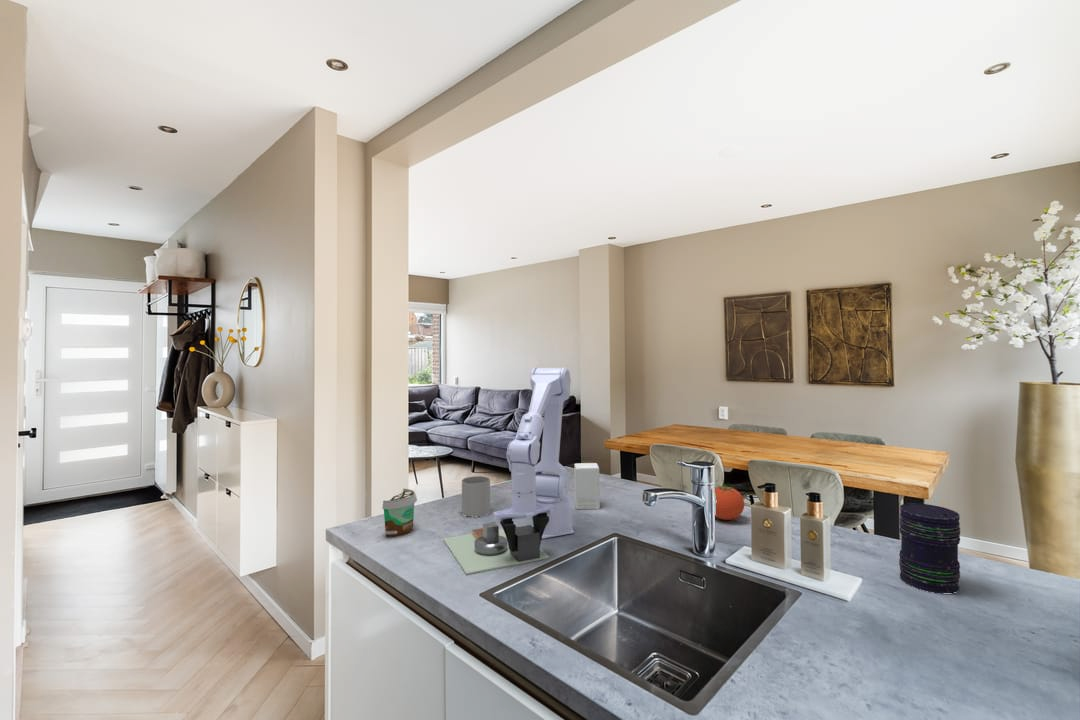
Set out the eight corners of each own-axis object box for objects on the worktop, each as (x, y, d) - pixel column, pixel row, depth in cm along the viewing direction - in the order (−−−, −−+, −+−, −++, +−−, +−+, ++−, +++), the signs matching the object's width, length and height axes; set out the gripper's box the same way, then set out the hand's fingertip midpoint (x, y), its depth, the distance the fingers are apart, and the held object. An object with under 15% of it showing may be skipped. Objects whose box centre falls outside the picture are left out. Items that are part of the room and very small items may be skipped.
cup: (475, 506, 157) (475, 474, 156) (495, 511, 152) (495, 478, 152) (456, 514, 150) (455, 481, 150) (476, 519, 145) (476, 485, 145)
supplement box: (600, 509, 152) (599, 468, 152) (575, 509, 152) (575, 468, 152) (597, 501, 160) (597, 462, 159) (574, 502, 160) (573, 462, 159)
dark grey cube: (530, 549, 122) (530, 524, 122) (539, 557, 117) (539, 532, 117) (510, 553, 120) (509, 528, 120) (518, 562, 115) (517, 536, 115)
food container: (404, 540, 130) (403, 502, 129) (383, 539, 131) (382, 501, 131) (424, 524, 142) (424, 488, 142) (404, 522, 143) (404, 488, 143)
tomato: (750, 525, 137) (750, 489, 137) (712, 525, 137) (712, 489, 137) (736, 512, 147) (736, 479, 147) (701, 513, 147) (701, 479, 147)
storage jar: (888, 577, 106) (888, 507, 105) (917, 568, 109) (917, 500, 109) (941, 598, 96) (942, 521, 96) (971, 588, 100) (971, 514, 100)
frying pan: (512, 552, 120) (511, 527, 120) (480, 558, 117) (479, 533, 117) (491, 531, 134) (491, 508, 134) (462, 536, 131) (462, 513, 131)
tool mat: (515, 527, 138) (515, 526, 138) (549, 558, 118) (549, 556, 118) (443, 540, 130) (443, 538, 130) (466, 575, 109) (466, 573, 109)
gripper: (500, 499, 111) (501, 559, 112) (558, 490, 117) (559, 548, 118) (490, 491, 118) (491, 548, 118) (546, 483, 124) (547, 537, 124)
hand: (524, 547), depth 118 cm, fingers open, 6 cm apart
